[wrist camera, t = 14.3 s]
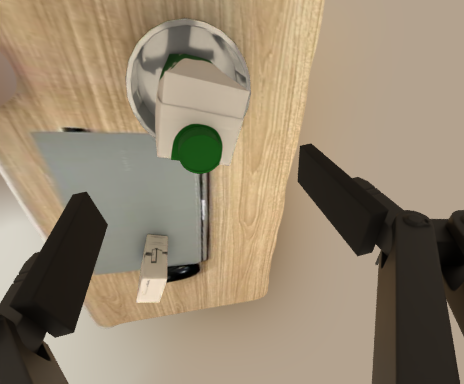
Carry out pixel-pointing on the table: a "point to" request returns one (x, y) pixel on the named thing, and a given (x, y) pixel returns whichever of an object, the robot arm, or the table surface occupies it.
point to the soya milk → (197, 113)
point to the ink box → (153, 269)
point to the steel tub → (178, 42)
